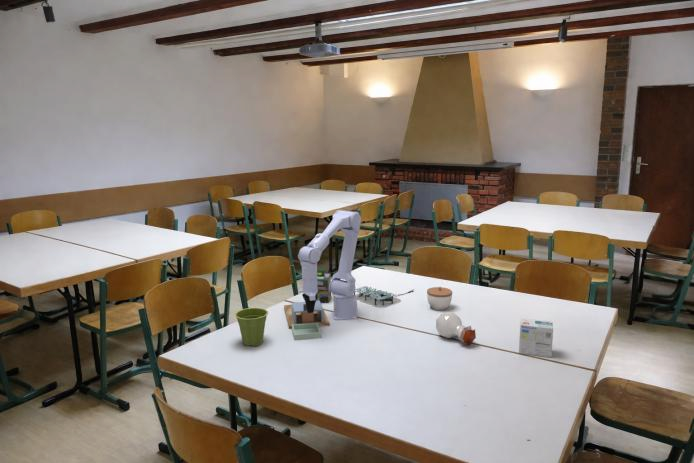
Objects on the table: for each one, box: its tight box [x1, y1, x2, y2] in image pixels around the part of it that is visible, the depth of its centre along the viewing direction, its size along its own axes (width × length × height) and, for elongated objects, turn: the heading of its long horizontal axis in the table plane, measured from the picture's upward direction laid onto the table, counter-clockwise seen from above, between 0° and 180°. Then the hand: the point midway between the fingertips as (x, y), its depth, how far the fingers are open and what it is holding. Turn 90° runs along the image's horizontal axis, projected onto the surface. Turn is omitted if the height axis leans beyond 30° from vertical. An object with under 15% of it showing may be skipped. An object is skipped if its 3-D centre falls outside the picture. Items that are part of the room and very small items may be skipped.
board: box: [283, 304, 330, 330], centre depth 206 cm, size 16×24×2 cm
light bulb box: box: [518, 317, 554, 358], centre depth 172 cm, size 11×7×11 cm, turn 71°
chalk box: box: [316, 268, 332, 304], centre depth 225 cm, size 9×9×15 cm
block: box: [301, 312, 314, 323], centre depth 200 cm, size 4×4×6 cm
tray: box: [291, 323, 322, 341], centre depth 189 cm, size 10×10×2 cm
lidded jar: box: [426, 286, 453, 311], centre depth 215 cm, size 11×11×9 cm
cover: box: [290, 301, 325, 324], centre depth 200 cm, size 12×10×8 cm
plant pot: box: [234, 307, 269, 347], centre depth 181 cm, size 12×12×11 cm
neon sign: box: [353, 286, 415, 309], centre depth 232 cm, size 21×4×29 cm
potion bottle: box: [435, 311, 477, 346], centre depth 183 cm, size 10×10×15 cm
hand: (310, 312), depth 190 cm, fingers closed
